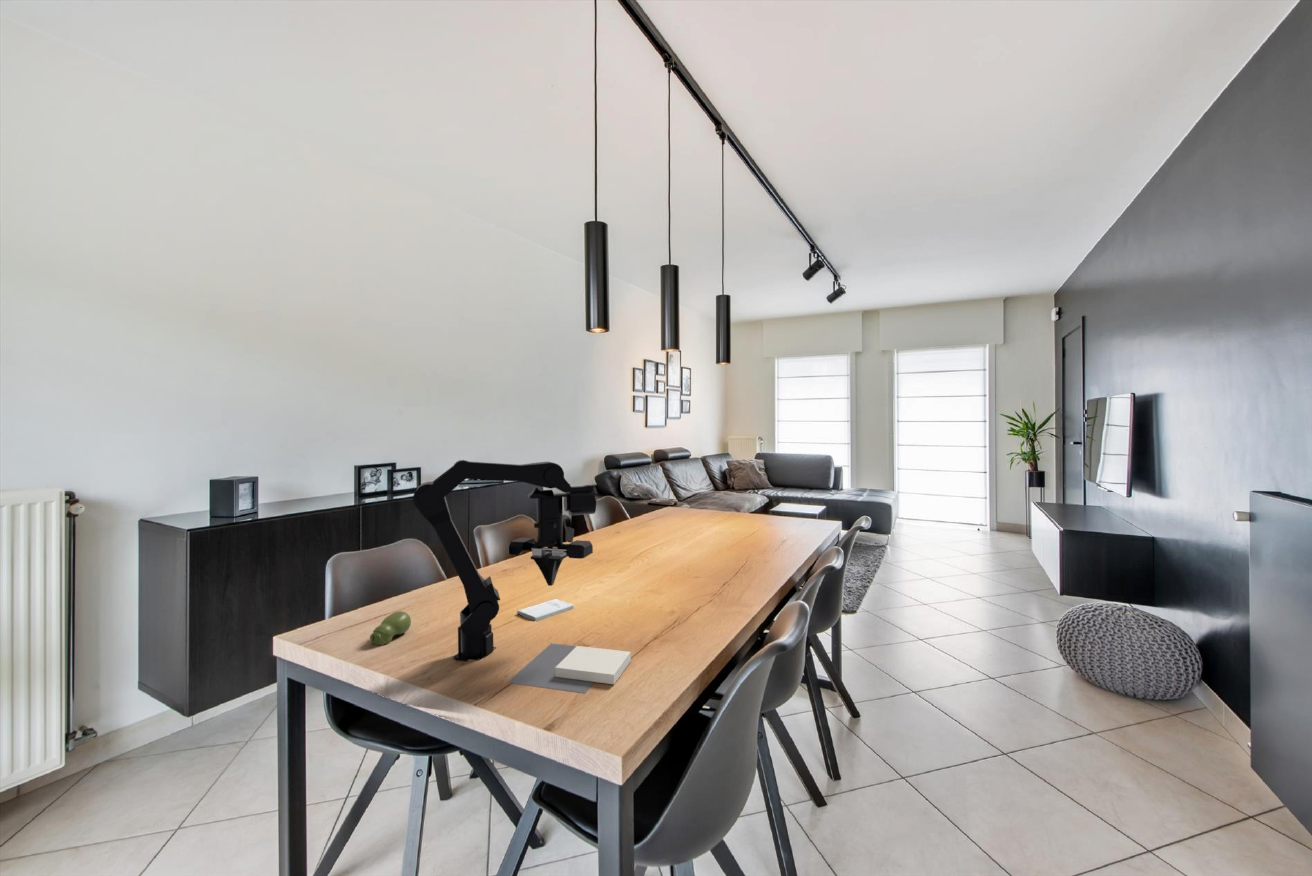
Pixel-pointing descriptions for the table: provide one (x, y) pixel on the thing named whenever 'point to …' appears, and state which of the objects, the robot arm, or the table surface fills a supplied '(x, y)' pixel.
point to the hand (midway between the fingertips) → (550, 585)
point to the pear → (391, 628)
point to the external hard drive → (545, 609)
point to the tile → (593, 664)
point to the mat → (549, 671)
